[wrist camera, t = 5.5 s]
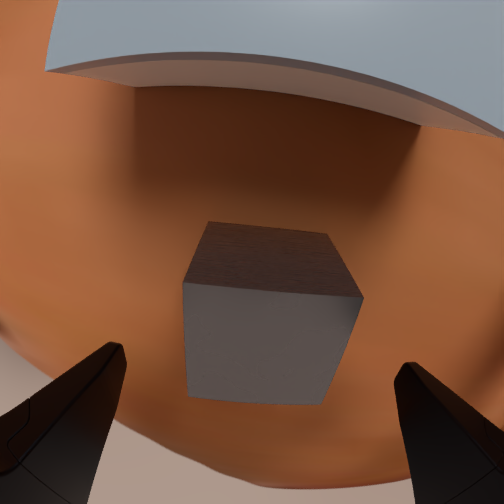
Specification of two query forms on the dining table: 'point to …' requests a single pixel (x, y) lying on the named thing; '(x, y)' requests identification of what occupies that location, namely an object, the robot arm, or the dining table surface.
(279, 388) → the block
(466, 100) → the box lid
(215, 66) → the storage box
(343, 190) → the dining table surface
